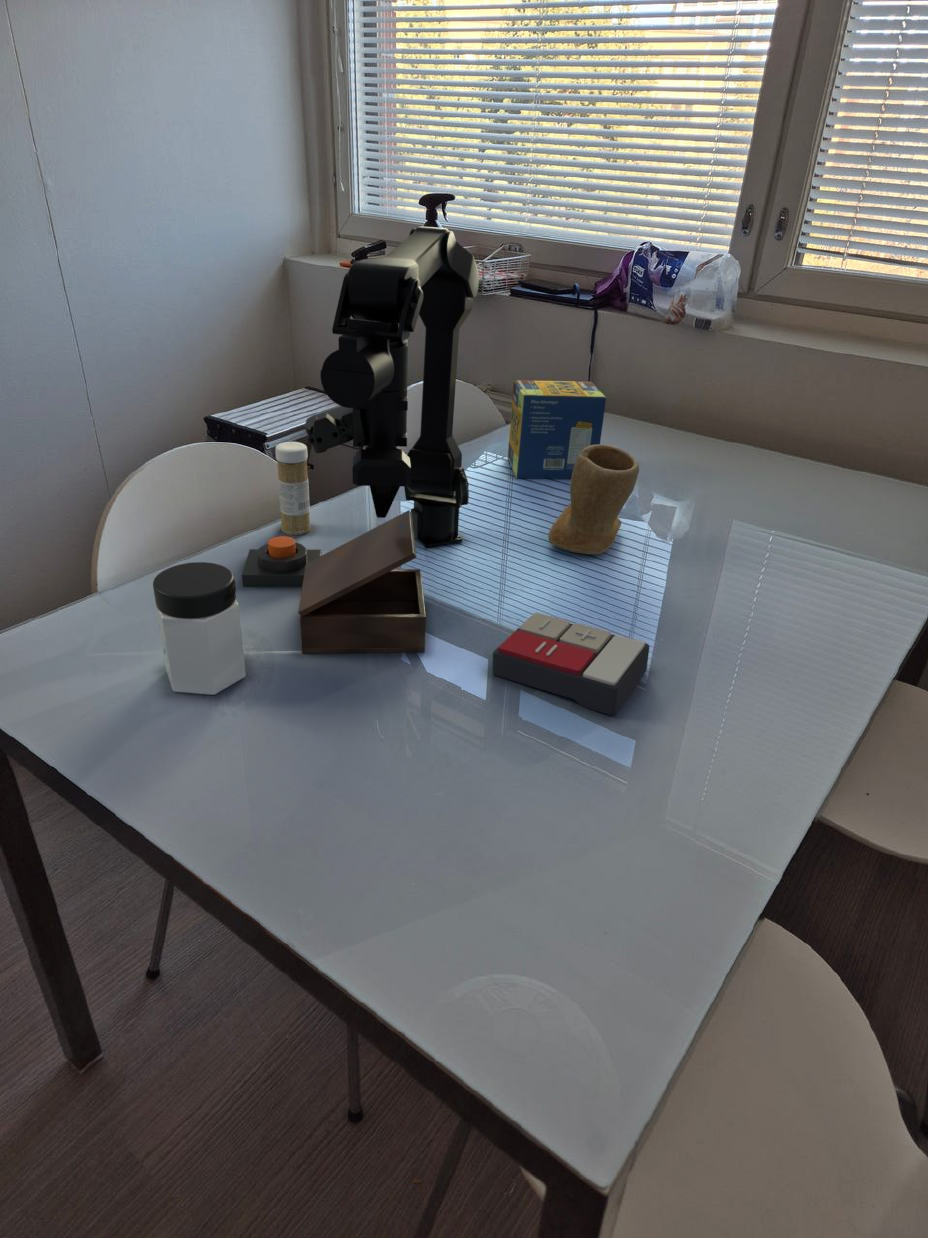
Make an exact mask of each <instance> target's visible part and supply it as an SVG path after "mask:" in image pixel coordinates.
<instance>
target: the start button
mask: <svg viewBox="0 0 928 1238" xmlns="http://www.w3.org/2000/svg"><path fill="white" fill-rule="evenodd" d="M295 543H296V540H295V539H294V537H293V538H292V537H290V536H287V535H286V536H284V535H283V536H282V535H281V536H275V537H272V538H270V539H269V540H268V541H267V544H268V550H269V555H270V556H271V557H275V558H287V557H291V556H294V555H295V553H296V548H295Z"/></svg>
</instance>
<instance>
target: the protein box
mask: <svg viewBox="0 0 928 1238" xmlns="http://www.w3.org/2000/svg"><path fill="white" fill-rule="evenodd" d="M511 397H512V398H511V399H512V400H511V411H510V424H509V425H510V426H509V438H508V448H507V461H508V463H509V465H510V468H511V469H512V473H513V474H514V476H515V478H516V479H566V480H567V479H570V480H571V477H572V472H573V469H574V465H575V462H576V459H577V457H578V455H579V453H580V452H581V451H582V450H583V449H584V448H586V447H588V446H591V445H597V444H601V438H602V432H603V425H604V420H605V419H604V417H605V411H606V402H607V396H605V395H604V393H602V391H601V390H600V389H599V388H598V387H597V386H596V384H594V383H593V381H587V380H586V381H583V380H581V381H579V380H578V381H576V380H575V381H573V380H526V379H525V380H523V379H514V380H513V386H512V396H511Z"/></svg>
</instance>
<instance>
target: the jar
mask: <svg viewBox="0 0 928 1238" xmlns="http://www.w3.org/2000/svg"><path fill="white" fill-rule="evenodd" d="M152 589H153V595H154V601H155V608H156V615H157V620H158V627H159V635H160V639H161V640H160V641H161V646H162V652H163V658H164V665H165V670H166V674H167V677H168V680H169V684H170V687H171V690H172V691H173V692H174V693H184V694H197V695H208V696H209V695H210V696H215V695H217V694H219V693H220V692H222V691H224V690H225V689H227V688H229V687H230V686H233V684H236V683H237V682H239V681H241V680H242V679H245V677H246V675H247V673H246V665H245V663H246V662H245V653H244V645H243V644H244V643H243V635H242V625H241V615H240V605H239V602H238V601H237V593H236V592H237V586H236V581H235V576H234V573H233V572H232V570H231V569H229V568H228V567H226V566H224V565H221V564H219V563H214V562H207V561H206V562H205V561H198V562H197V561H196V562H195V561H194V562H187V563H181V564H177V565H173V566H170V567H168V568H166V569H164V570H162V571H161V572H159V573H158V574H156V576H155V577H154V579H153V581H152Z"/></svg>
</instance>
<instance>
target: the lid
mask: <svg viewBox="0 0 928 1238" xmlns="http://www.w3.org/2000/svg"><path fill="white" fill-rule="evenodd" d="M415 540H416V539H415V537H414V531H413V521H412V514H411V509H409V510H406V511H404V512H403V513H400V514H399V515H396V516H395V517H393V518H391V519H389V520H387V521H385V522H383V523H382V524H381V523H380V525H378V526H376V527H374V528H371V529H370V530H367V531H366V532H365V533H362V534H361V535H359V536H356V537H354V538H353V539H351V540H348V541H347V542H345V543H343V544H341V545H339V546H338V547H337V546H336V547H335V548H334V549H332V550H330V551H328V552H326V553H324V554H322V556H320V557H318V558H316V559H314V560H313V561H311V562H309V563H307V564H306V566H305V573H304V579H303V585H302V587H301V593H300V599H299V605H298V611H297V612H298V614H299V616H300V615H301V617H302V616H304V615H306V614H308V613H310V612H311V611H313V610H315V609H317V608H319V607H321V606H323V605H325V604H327V603H329V602H331V601H333V600H335V599H337V598H339V597H341V596H343V595H345V594H347V593H349V592H351V591H352V590H354V589H356V588H358V587H360V586H362V585H364V584H366V583H368V582H370V581H372V580H374V579H376V578H378V577H380V576H382V575H384V574H386V573H388V572H390V571H392V570H394V569H398V568H399V567H401V566H404V565H405V564H407V563H410V562H411V561H413V560H415V559H417V552H416V543H415V542H416V541H415Z"/></svg>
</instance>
